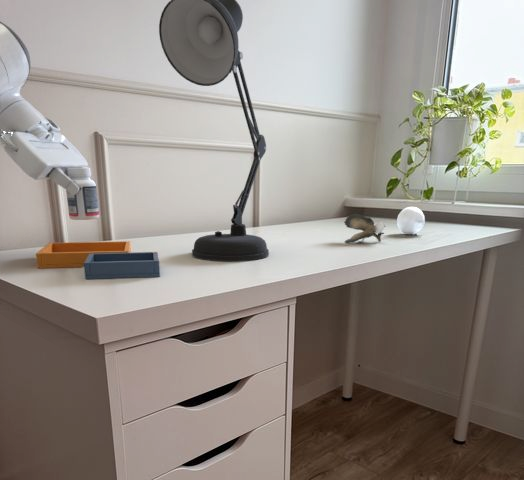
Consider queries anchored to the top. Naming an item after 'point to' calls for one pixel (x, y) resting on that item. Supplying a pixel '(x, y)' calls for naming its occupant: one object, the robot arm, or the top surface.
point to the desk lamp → (207, 74)
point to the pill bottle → (82, 196)
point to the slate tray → (121, 265)
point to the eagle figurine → (364, 227)
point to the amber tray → (76, 253)
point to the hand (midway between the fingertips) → (84, 191)
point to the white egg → (410, 220)
